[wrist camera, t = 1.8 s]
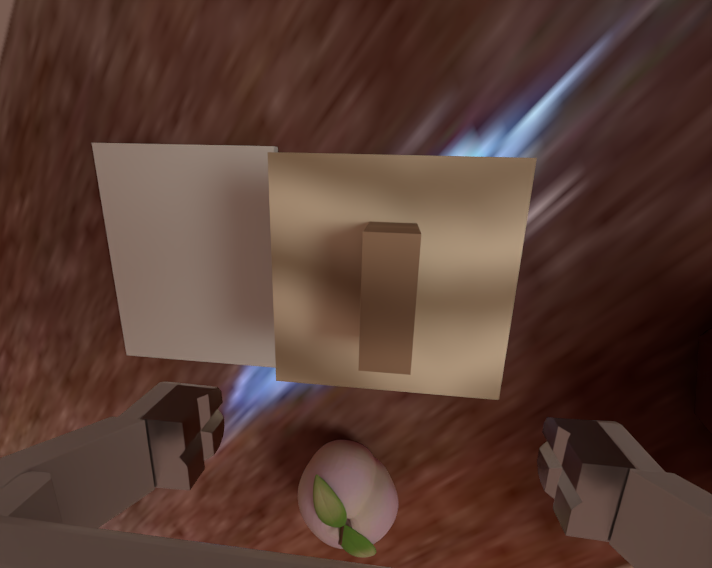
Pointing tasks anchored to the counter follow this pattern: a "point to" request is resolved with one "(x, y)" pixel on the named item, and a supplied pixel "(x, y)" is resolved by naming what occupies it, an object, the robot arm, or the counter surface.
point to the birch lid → (396, 269)
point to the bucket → (704, 380)
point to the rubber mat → (190, 249)
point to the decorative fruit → (347, 497)
